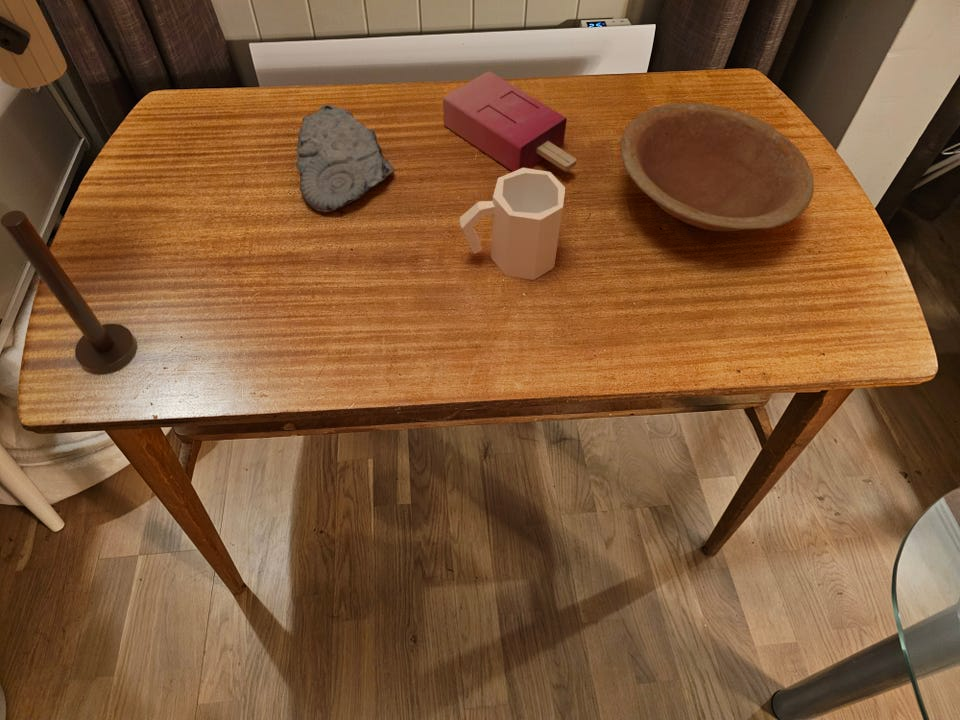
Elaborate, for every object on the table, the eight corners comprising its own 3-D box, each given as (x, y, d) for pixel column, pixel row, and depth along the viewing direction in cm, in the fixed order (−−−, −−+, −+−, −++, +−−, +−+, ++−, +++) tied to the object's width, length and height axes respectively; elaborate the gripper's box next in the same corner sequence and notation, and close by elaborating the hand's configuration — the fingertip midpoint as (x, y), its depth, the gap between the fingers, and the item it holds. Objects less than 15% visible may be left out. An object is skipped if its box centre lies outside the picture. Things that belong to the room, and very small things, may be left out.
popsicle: (550, 167, 89) (442, 96, 97) (547, 196, 93) (443, 126, 101) (597, 135, 93) (489, 69, 101) (592, 164, 97) (489, 99, 105)
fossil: (319, 226, 89) (313, 202, 86) (265, 146, 98) (258, 121, 94) (408, 190, 93) (406, 166, 90) (350, 116, 102) (346, 92, 98)
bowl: (805, 280, 85) (834, 233, 79) (608, 260, 87) (620, 212, 80) (782, 153, 99) (804, 103, 92) (611, 137, 100) (621, 87, 93)
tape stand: (85, 382, 75) (-22, 252, 59) (75, 341, 78) (-29, 207, 62) (142, 361, 77) (54, 229, 61) (130, 322, 80) (43, 186, 64)
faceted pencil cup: (6, 94, 64) (-46, 7, 57) (-2, 62, 67) (-51, -24, 60) (71, 79, 66) (28, -8, 59) (61, 48, 68) (19, -38, 62)
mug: (548, 225, 90) (556, 163, 82) (565, 275, 85) (575, 215, 77) (455, 237, 88) (453, 175, 80) (467, 289, 84) (467, 229, 76)
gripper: (-248, -120, 46) (38, 39, 57) (-176, -199, 54) (61, -46, 65) (-271, -29, 49) (2, 103, 61) (-201, -116, 57) (28, 15, 69)
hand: (31, 25), depth 63 cm, fingers closed on faceted pencil cup, 5 cm apart
